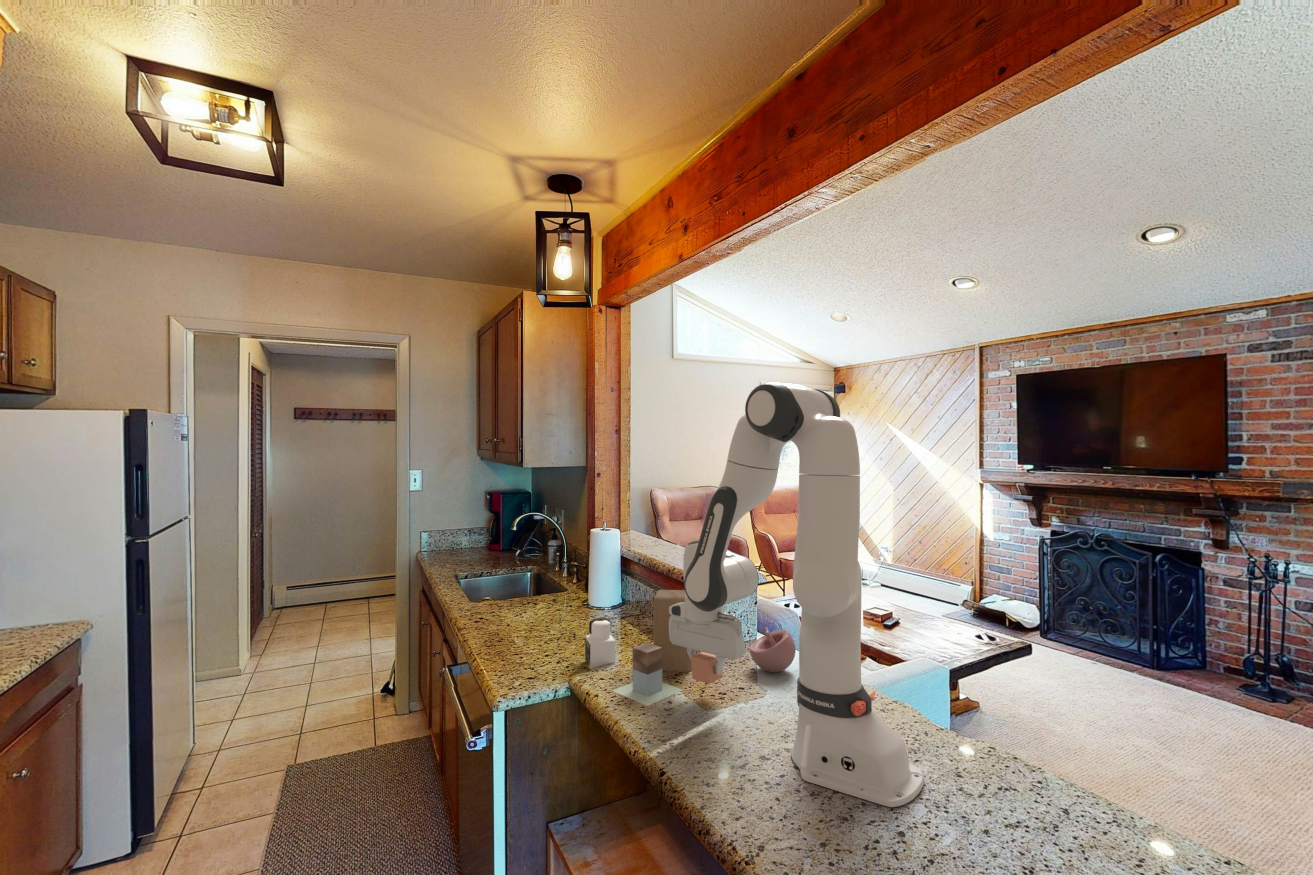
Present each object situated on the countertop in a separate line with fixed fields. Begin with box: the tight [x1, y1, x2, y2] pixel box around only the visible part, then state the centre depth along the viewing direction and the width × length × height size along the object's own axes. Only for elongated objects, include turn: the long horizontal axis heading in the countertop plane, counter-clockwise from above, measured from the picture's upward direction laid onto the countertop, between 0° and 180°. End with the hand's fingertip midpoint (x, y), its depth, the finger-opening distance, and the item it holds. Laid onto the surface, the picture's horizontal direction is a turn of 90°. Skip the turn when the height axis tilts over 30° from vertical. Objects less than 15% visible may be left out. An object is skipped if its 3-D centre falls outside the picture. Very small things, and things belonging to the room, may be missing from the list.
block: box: [652, 589, 692, 673], centre depth 149 cm, size 10×10×20 cm
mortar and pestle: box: [748, 626, 796, 673], centre depth 148 cm, size 12×12×11 cm
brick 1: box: [632, 642, 662, 675], centre depth 132 cm, size 5×5×5 cm
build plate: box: [611, 681, 683, 707], centre depth 132 cm, size 12×12×1 cm
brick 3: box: [691, 651, 724, 685], centre depth 128 cm, size 5×5×5 cm
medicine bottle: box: [584, 617, 616, 670], centre depth 153 cm, size 7×7×12 cm
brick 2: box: [632, 668, 663, 697], centre depth 132 cm, size 5×5×5 cm
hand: (707, 670), depth 128 cm, fingers closed on brick 3, 5 cm apart
